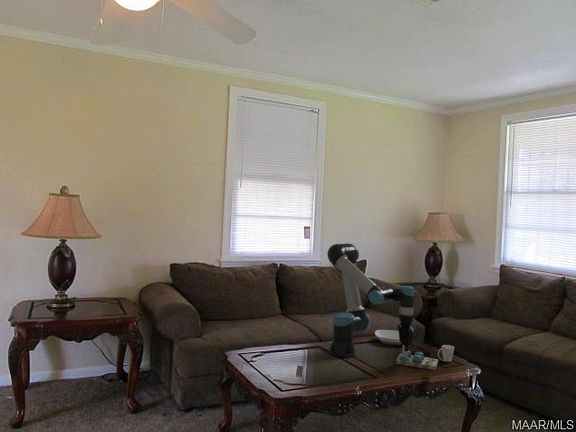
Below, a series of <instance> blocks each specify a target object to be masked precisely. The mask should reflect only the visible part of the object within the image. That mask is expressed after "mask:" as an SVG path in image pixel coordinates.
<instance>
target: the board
mask: <svg viewBox="0 0 576 432" xmlns="http://www.w3.org/2000/svg"><path fill="white" fill-rule="evenodd" d="M401 356H402V353H399V355H398V356H397V358H396V360H395V364H396V365H401V366H407V367H412V368H413V367H415V368H420V369H425V370H431V371H436V370H437V367H438V364H439V358H432V357H425V356H423V359H422V362H421V363H416V362H414V361H413V357H414V355H413V354H410V357H409V362H408V361H401V360H400V359H401Z"/></svg>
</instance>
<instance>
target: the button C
mask: <svg viewBox="0 0 576 432" xmlns="http://www.w3.org/2000/svg"><path fill="white" fill-rule="evenodd" d="M413 356H414V357H413V361H414V362H416V363H421V362H422V356H420V355H415V354H414V355H413Z"/></svg>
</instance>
